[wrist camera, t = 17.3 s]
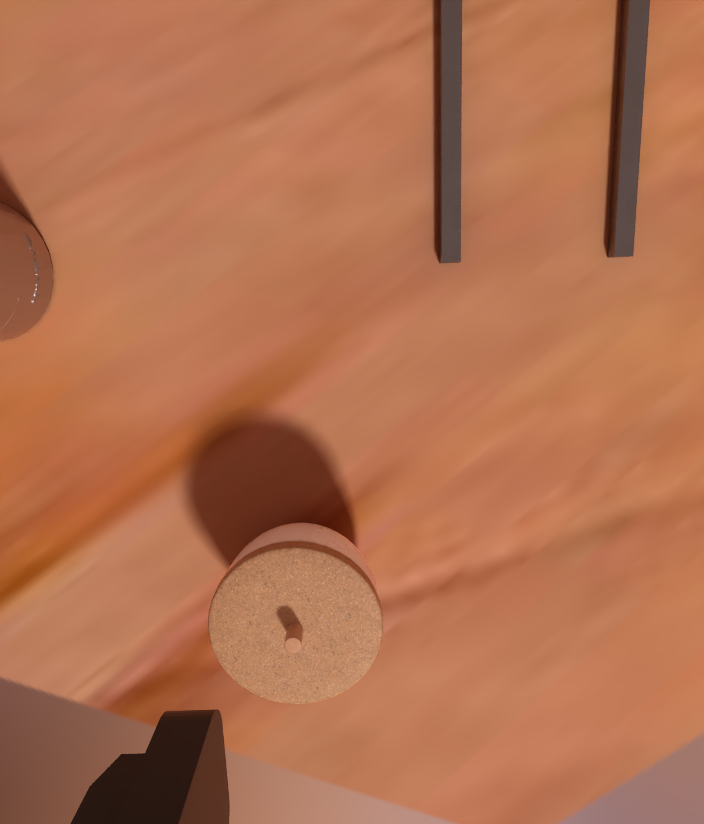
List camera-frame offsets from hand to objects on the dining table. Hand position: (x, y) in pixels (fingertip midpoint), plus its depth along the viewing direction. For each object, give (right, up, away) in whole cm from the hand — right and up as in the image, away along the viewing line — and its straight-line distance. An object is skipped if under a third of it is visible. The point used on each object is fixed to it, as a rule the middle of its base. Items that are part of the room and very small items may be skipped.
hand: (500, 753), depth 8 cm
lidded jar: (-5, -7, +35) cm, 36 cm away
